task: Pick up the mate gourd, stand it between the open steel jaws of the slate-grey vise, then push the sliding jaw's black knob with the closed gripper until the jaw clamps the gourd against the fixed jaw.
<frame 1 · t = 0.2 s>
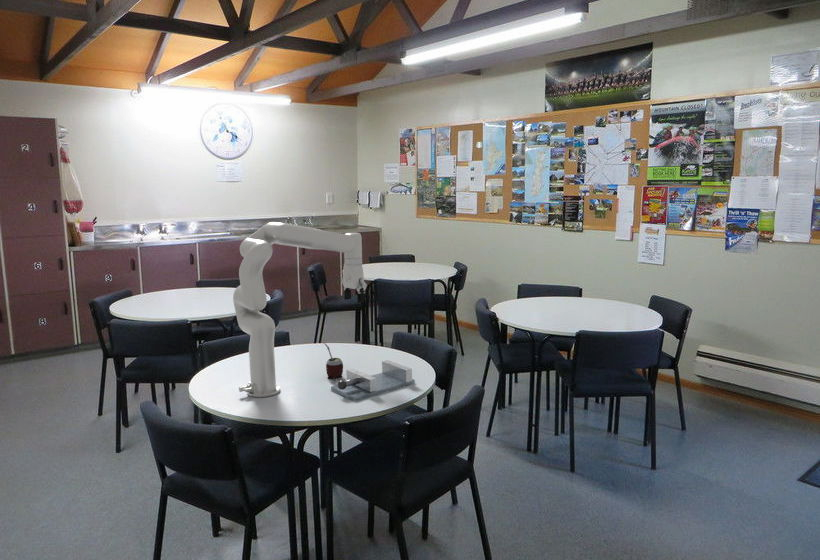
hand: (354, 300, 250), 31 cm above the table, tool pointing down, fingers open, 9 cm apart
mate gourd: (333, 378, 244), on the table
vise: (373, 386, 232), on the table
vise jaw: (351, 382, 225), point 4 cm above the table, slide at 0.0 cm
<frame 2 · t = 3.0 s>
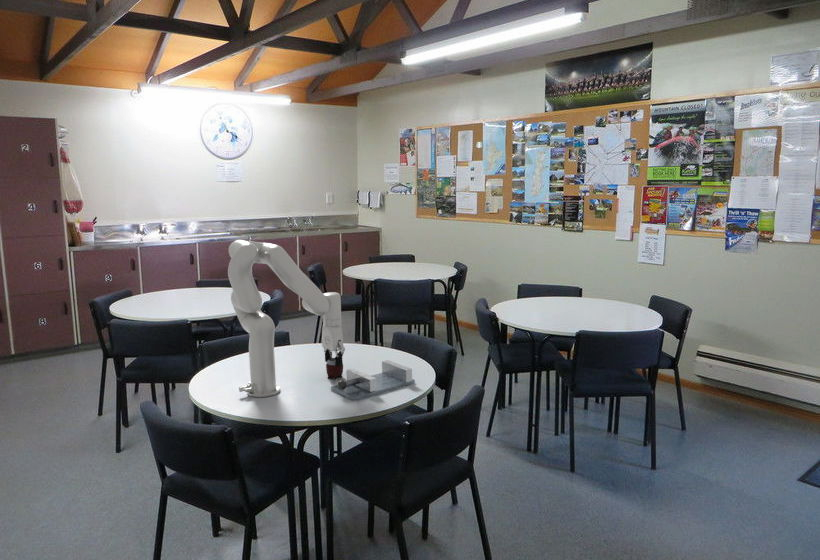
hand: (333, 362, 243), 6 cm above the table, tool pointing down, fingers open, 7 cm apart
mate gourd: (333, 378, 244), on the table, touching gripper
everything else where it was.
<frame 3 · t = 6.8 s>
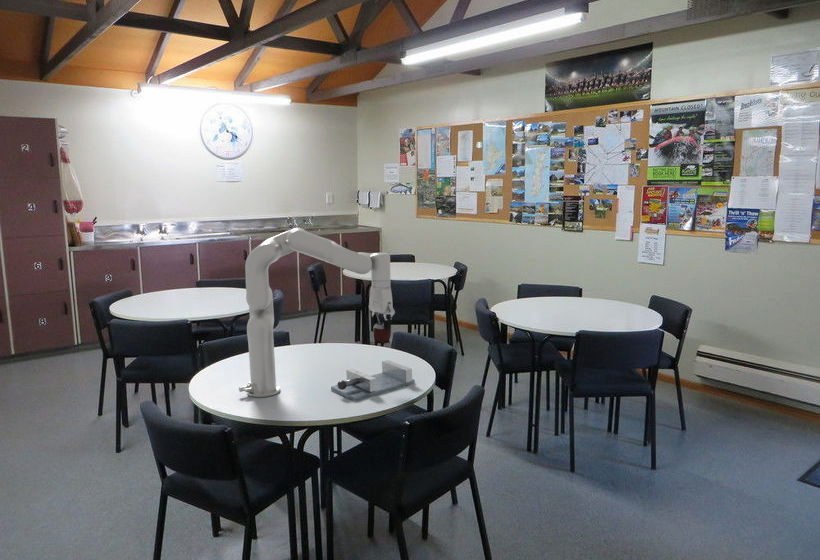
hand: (381, 327, 232), 24 cm above the table, tool pointing down, fingers closed on mate gourd, 6 cm apart
mate gourd: (380, 343, 233), point 17 cm above the table, touching gripper
everything else where it was.
when the fingers open (9 cm above the table, at t = 10.1 s): mate gourd drops 1 cm, resting on vise.
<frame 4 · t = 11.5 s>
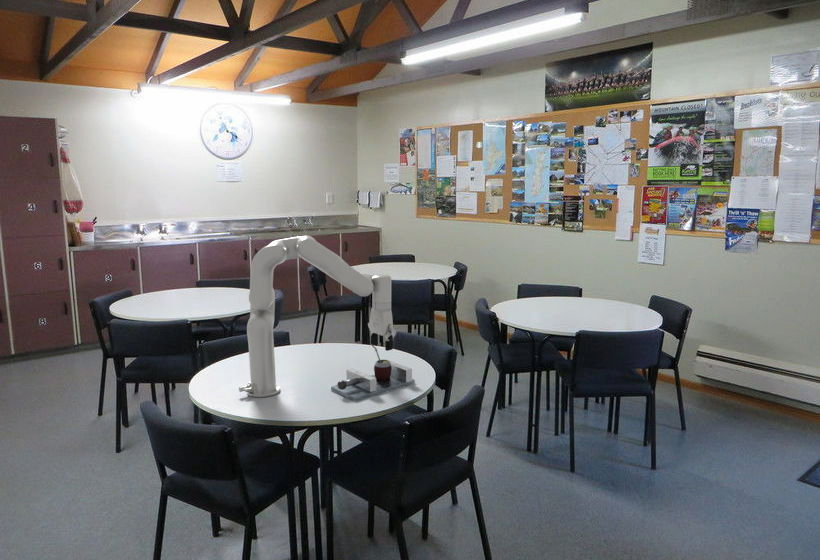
hand: (381, 347, 233), 15 cm above the table, tool pointing down, fingers open, 9 cm apart
mate gourd: (381, 380, 236), point 1 cm above the table, touching gripper, vise
everything else where it was.
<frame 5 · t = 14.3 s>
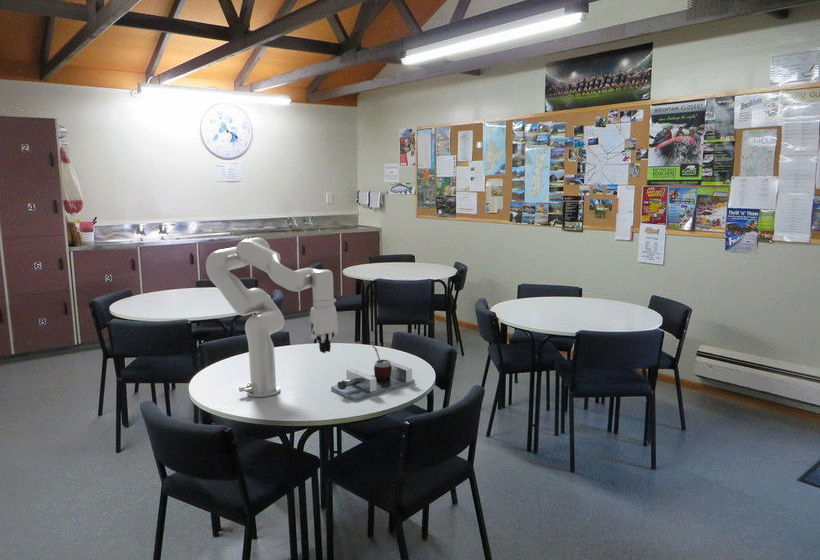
hand: (325, 351, 215), 19 cm above the table, tool pointing down, fingers closed
mate gourd: (381, 380, 236), point 1 cm above the table, touching vise
everything else where it was.
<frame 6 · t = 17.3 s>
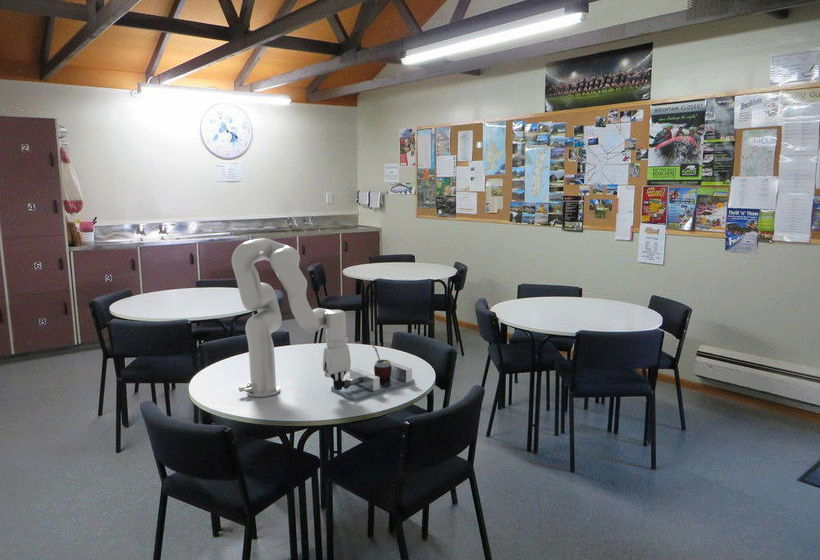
hand: (338, 389, 221), 3 cm above the table, tool pointing down, fingers closed
vise jaw: (354, 381, 226), point 4 cm above the table, slide at 1.6 cm, touching gripper
everything else where it was.
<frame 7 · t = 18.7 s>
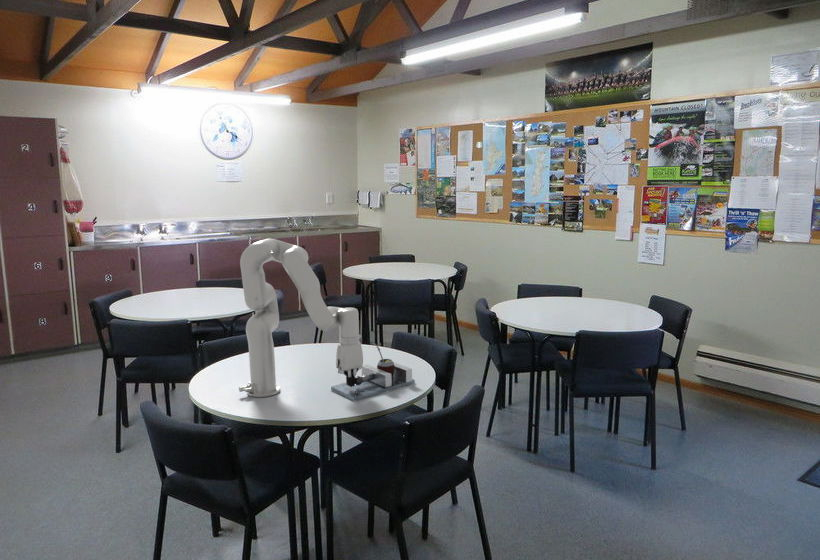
hand: (350, 385, 225), 3 cm above the table, tool pointing down, fingers closed
mate gourd: (384, 379, 237), point 1 cm above the table, touching vise, vise jaw
vise jaw: (366, 378, 230), point 4 cm above the table, slide at 7.5 cm, touching gripper, mate gourd
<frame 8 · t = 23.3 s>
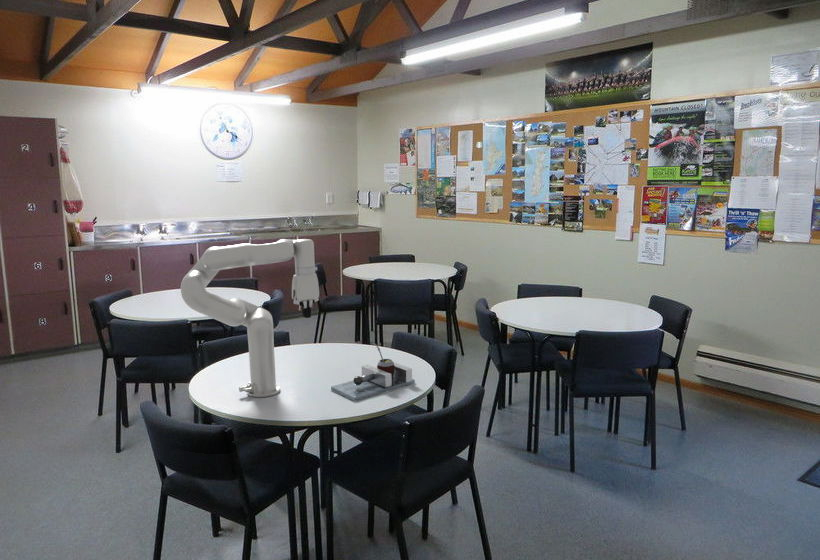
hand: (306, 317, 227), 29 cm above the table, tool pointing down, fingers closed
mate gourd: (384, 379, 237), point 1 cm above the table, touching vise
vise jaw: (366, 378, 230), point 4 cm above the table, slide at 7.5 cm
at the end: mate gourd inside the target area on the vise (0.8 cm from its centre), point 1.3 cm above the vise's base; mate gourd tilted 0°; vise jaw slide at 7.5 cm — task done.
